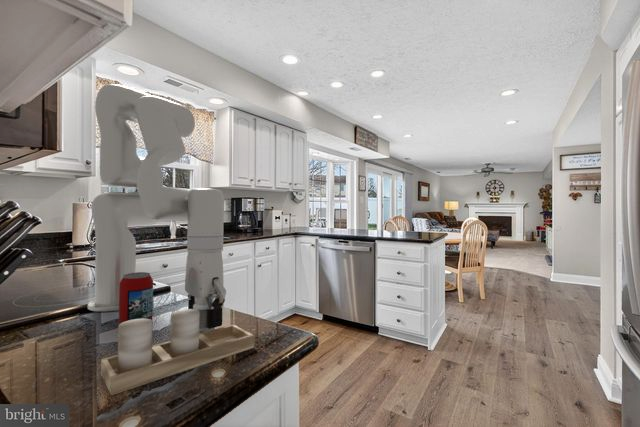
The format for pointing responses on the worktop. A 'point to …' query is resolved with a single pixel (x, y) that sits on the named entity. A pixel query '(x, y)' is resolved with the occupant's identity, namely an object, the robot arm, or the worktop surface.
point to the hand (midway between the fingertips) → (204, 320)
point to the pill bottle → (202, 313)
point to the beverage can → (136, 297)
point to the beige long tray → (168, 350)
